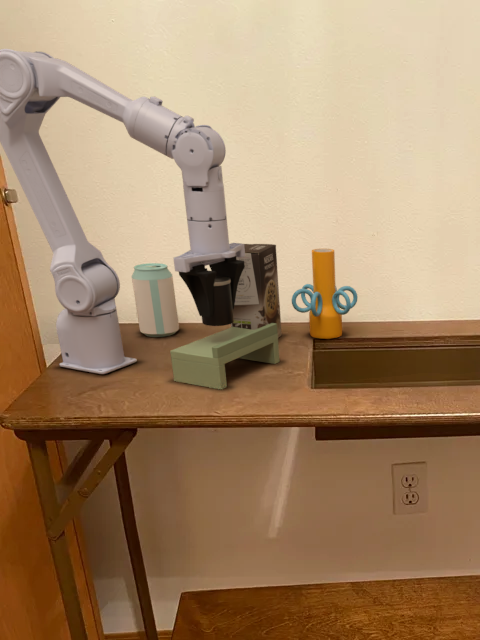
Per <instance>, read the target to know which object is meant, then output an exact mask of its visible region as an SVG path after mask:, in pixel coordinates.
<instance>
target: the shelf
mask: <svg viewBox="0 0 480 640" xmlns="http://www.w3.org/2000/svg"><path fill="white" fill-rule="evenodd" d="M169 353H170V360H171V368H172V374H173V375H172V377H173V382H178V383H183V384H189V385H194V386H199V387H205V388H210V389H215V390H224V389H226V388H228V384H227V375H226V374H227V373H226V364H228V363H230V362H232V361H235V360H236V359H241V360H249V361H254V362H260V363H267V364H274V365H276V364H278V363H280V362H281V361H280V346H279V338H278V331H277V324H276V323H271V324H268V325H266V326H263V327H261V328H258V329H256V330H251V329H244V328H237V327H231V326H230V327H228V328H226V329H223V330H220V331H218V332H215V333H213V334H210V335H208V336H205V337H201V338H200V339H197V340H194V341H192V342H189V343H187V344H184V345H182V346H179V347H176V348H174V349H171V350H170V352H169Z"/></svg>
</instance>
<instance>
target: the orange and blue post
mask: <svg viewBox="0 0 480 640" xmlns="http://www.w3.org/2000/svg"><path fill="white" fill-rule="evenodd" d="M335 254H336V253H335V249H332V248H314V249H311V262H312V263H311V265H312V284H311V283H305V284H304V285H303V286H302V288H298V289H297V290H296V291H294V293H293V294H292V296H291V305H292V307H293V309H294V310H295V311H296V312H298V313H304V314H305V313H308V320H309V322H308V323H309V334H310V336H311V337H312V338H315V339H320V340H331V339H333V340H334V339H338V338H339V337H342V336H343V315H344V316H345V315H347V314H348V313H349V312H350V310H351V309H353V308H354V307H355V306H356V305H357V302H358V292H357V291H356V289H355V288H353V287H352V286H351V285H343V286H341V287H340V288H338V289H337V285H336V260H335V259H336V258H335V257H336V256H335ZM345 291H348V292H350V293H351V294H352V298H353V299H352V301H351V299H350V296H349V295H348V293H347V292H345ZM306 295H308V297H309V299H310V301H308V300H307V297H306ZM298 296H300V298H301V301H302V303H303V304H304V306H306V307H303V308H302V307H300V306H299V305H298V304H297V298H298ZM340 296H342V297H343V298H344V301H345V305H344V304H342V303H341V301H340Z"/></svg>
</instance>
